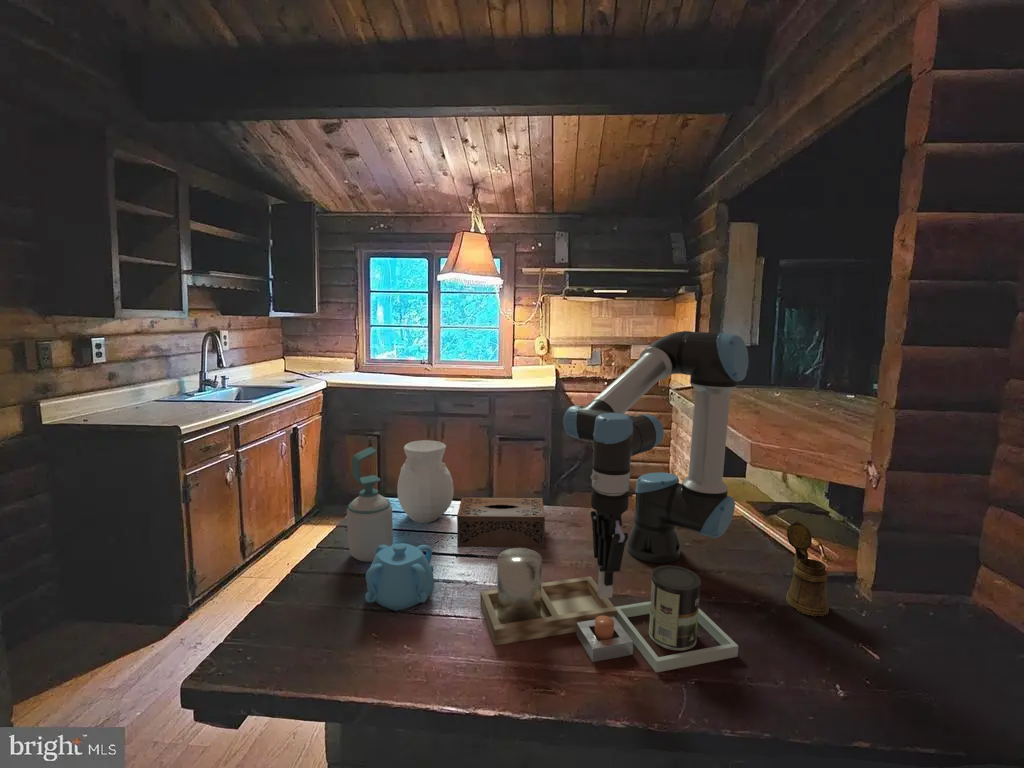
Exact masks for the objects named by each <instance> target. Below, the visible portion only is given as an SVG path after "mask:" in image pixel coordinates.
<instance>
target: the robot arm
mask: <svg viewBox="0 0 1024 768" xmlns="http://www.w3.org/2000/svg"><path fill="white" fill-rule="evenodd" d="M748 370H749V351H748V348H747V345H746V342H745V341H744V339H743V338H742V337H741V336H739V335H737V334H734V333H733V334H732V333H726V332H706V331H705V332H704V331H689V330H688V331H687V330H682V331H677V332H673V333H670V334H667V335H665V336H663V337H661V338H659V339H656V340H655V341H654V342H652V343H650V344H649V345H648V346H646V348H644V349H643V350H642V351H641V352H640V354H639V356H638V359H637V360H636V361H635V362H634V363H633V364H632V365H631V366H630V367H628V368H627V369H626V370H625V371H624V372H623V373H622V374H620V375H619V376H618V377H617V378H616V379H615V380H613V382H612V383H610V384H609V385H608V386H607V387H606V388H604V389H603V390H602V391H601V392H600V393H599V394H598V395H597V396H595V398H593V399H592V400H591V401H590V402H589V403H588V404H587V405H585V406H583V405H572V406H570V407H568V408H567V409H566V412H565V413H564V415H563V420H562V426H563V429H564V432H565V433H566V434H567V436H570V437H572V438H575V439H578V440H581V441H586V442H591V443H593V449H592V450H593V453H592V454H593V457H592V460H593V461H592V474H591V475H590V480H591V487H592V489H591V490H590V491H591V492H590V494H591V495H590V506H591V508H592V509H593V510H591V511H590V517H591V518H590V519H591V525H592V526H591V527H592V540H593V541H592V544H593V557H594V559H597V561H596V562H597V565H598V579H597V585H598V597H599V598H600V599H604V598H608V599H610V598H613V589H614V573H617V572H620V571H621V566H622V561H623V556H624V553H625V552H624V551H625V546H626V549H627V552H628V553H629V554H630V555H631V556H632V557H634V558H635V559H638V560H640V561H643V562H646V563H652V564H667V563H668V564H669V563H672V562H676V561H677V560H678V559H680V556H681V544H680V541H679V540H680V539H679V538H678V534H677V529H676V527H678V528H681V529H684V530H686V531H687V530H688V531H690V532H693V533H695V534H699V535H700V536H706V537H709V538H713V539H717V538H720V537H722V536H723V535H724V534H725V533H726V531H727V530H728V528H729V526H730V524H731V522H732V520H733V515H734V514H735V507H736V502H735V499H734V498H733V497H732V496H730V495H728V494H729V492H728V491H729V488H728V485H727V484H726V483H725V482H724V479H723V477H724V465H725V455H726V445H727V444H726V443H727V434H728V422H729V412H730V411H729V410H730V401H731V399H730V398H731V393H732V392H733V391H734V390H735V389H737V388H738V383H739V382H741V381H743V380H744V379H745V378H746V377H747V371H748ZM679 374H680V375H684V376H685V375H686V376H690V378H689V379H690V380H689V384H690V386H691V387H693V388H694V390H695V391H694V403H693V404H694V406H693V416H692V430H691V441H690V442H691V443H690V454H689V455H690V456H689V467H688V476H686V478H684V479H683V480H681V482H680V479H679V476H678V475H676V474H674V473H671V472H649V473H645V474H642V475H641V476H639V477H638V478H637V480H636V484H635V491H634V492H635V497H634V498H635V500H634V520H633V521H634V522H633V525H632V528H631V530H630V533H629V534H628V533H627V532H623V530H622V529H623V528H622V526H623V521H622V515H623V514H624V513H625V512H626V511H628V509H629V497H630V494H629V490H630V481H631V480H630V479H631V462H632V461H631V459H632V457H634V456H635V455H638V454H642V453H645V452H647V451H651V450H653V448H656V447H657V446H659V445H660V444H661V442H662V441H663V439H664V434H665V433H664V432H665V431H664V427H663V424H662V423H661V421H660V420H659V419H658V418H657V417H656V416H654V415H651V414H640V415H637V416H636V415H635V416H634V415H628V414H626V413H627V411H629V410H630V409H631V408H632V407H633V406H634V405H635V404H636V403H637V402H638V401H639V400H640V399H641V398H642V397H644V395H645V394H646V393H647V392H648V391H650V390H651V389H652V388H653V387H654V386H655V385H656V384H657V383H658V382H659V381H663V380H665V379H667V378H668V377H670V376H671V375H679Z"/></svg>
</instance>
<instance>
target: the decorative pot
mask: <svg viewBox="0 0 1024 768" xmlns="http://www.w3.org/2000/svg"><path fill="white" fill-rule="evenodd" d="M424 550H426V551H425V553H426V554H424V552H423V551H424ZM432 556H433V551H432V548H431V546H429V545H427V544H420V545H418V546H415V545H412V544H410V543H409V544H408V543H403V542H402V543H396V544H392V546H389V547H388V546H387V545H380V546H379V547H378V548H377V549H376V556H375V558H374V560H373V561H372V562H371V564H370V567H369V568H368V569H367V571H366V573H365V581H366V587H367V592H366V593H365V596H364V599H365V601H366V602H367V603H374V602H376V603H377V604H379V605H380V606H382V607H384V608H386V609H389V610H392V611H395V612H399V611H398V610H400V611H402V610H406V609H410V608H411V607H414V606H415V605H418V604H419V603H425V602H426V601H427V600H428V597H430V595H431V593H432V591H433V590H434V589H435V588H434V587H435V579H434V574H433V572H434V566H433V565H432V564H431V560H432Z"/></svg>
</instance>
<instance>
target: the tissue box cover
mask: <svg viewBox="0 0 1024 768" xmlns="http://www.w3.org/2000/svg"><path fill="white" fill-rule="evenodd" d="M459 503H460V504H459V507H458V511H457V515H456V531H457V533H456V537H457V538H456V539H457V540H456V541H457V548H496V549H497V548H498V549H499V548H502V549H503V548H504V549H505V548H506V549H507V548H508V549H512V548H526V549H545V526H546V524H545V523H546V515H545V509H544V500H543V498H542V497H466V496H465V497H461V500H460V502H459Z"/></svg>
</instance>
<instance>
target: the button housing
mask: <svg viewBox="0 0 1024 768" xmlns="http://www.w3.org/2000/svg"><path fill="white" fill-rule="evenodd" d="M610 618H612V619H613V620H614V635H613V639H608V640H602V641H598V640H597V639H596V637H595V636H594V635H595V620H589V621H583V622H577V624H576V632H575V635H576V637H577V639H578V640H579V642H580V644H581V645H582V647H583V648H584V650H585V652H586V654H587V655H588V657H589V658H590V661H591V662H592V663H595V662H596V663H597V662H601V661H605V660H611V659H617V658H622V657H623V658H624V657H627V656H633V652H634V651H633V650H634V643H633V641H632V640H631V638H630V637H629V636H628V634H627V633H626V632H625V630H624V629H623V628H622V626H621V625H620V624H619V622H618V621H617V620H616V618H615V617H610Z"/></svg>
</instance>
